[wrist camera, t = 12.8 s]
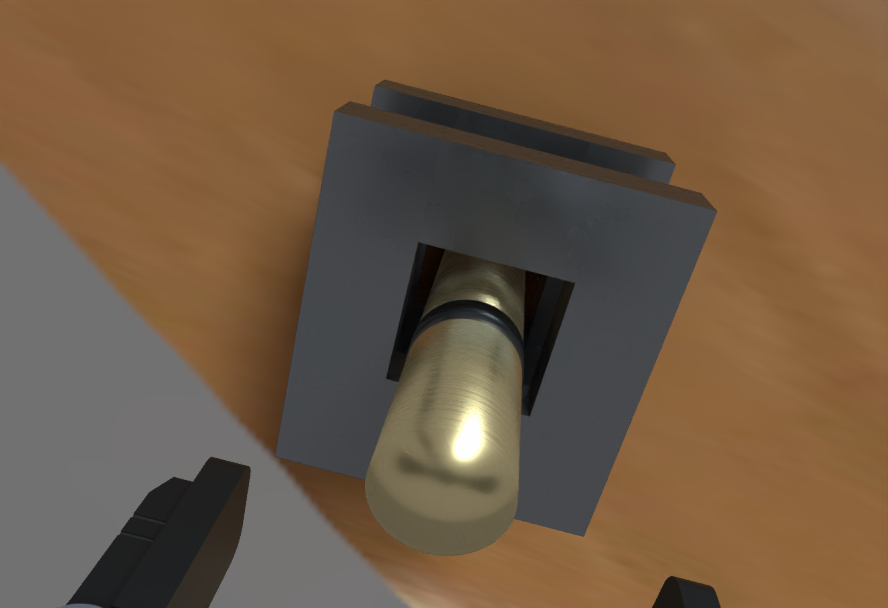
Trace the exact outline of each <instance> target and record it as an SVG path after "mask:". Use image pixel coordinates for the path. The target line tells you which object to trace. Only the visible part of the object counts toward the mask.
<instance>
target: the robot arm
mask: <svg viewBox="0 0 888 608" xmlns="http://www.w3.org/2000/svg"><path fill="white" fill-rule="evenodd" d="M250 471H251V470H250V467H249V466H246V465H241V464H238V463H234V462H230V461H226V460H222V459H218V458H214V457H210V458H209V459H208V460H207V462H206V463H205V465H204V466H203V468H202V469H201V471H200V472H199V474H198V475H197V477H196V478H195V480H194V481H193V482H191V481H187V480H183V479H180V478H176V477H173V478H172V479H170V480H168V481H167V482H165V483H163V484H162V485H160V486H159V487H157V488H155V489H154V490H152V491H151V492H149V493H148V495H147V496H146V497H145V499H144V500H143V502H142V503H141V504H140V506H139V507H138V508H137V510H136V511H135V512H134V515H133V517H131V518H130V519H129V521H128V522H127V523H126V525H125V526H124V528H123V529H122V530H121V533H120V535H118V536H117V537H116V538H115V540H114V541H113V542H112V544H111V545H110V546H109V548H108V549H107V551H106V552H105V553H104V555H103V556H102V557H101V559H100V560H99V561H98V563H97V564H96V565H95V567H94V568H93V570H92V571H91V572H90V574H89V575H88V577H87V578H86V579H85V581H84V582H83V583H82V585H81V586H80V587H79V589H78V590H77V591H76V593H75V594H74V595H73V597H72V598H71V600H69V602H68V603H67V604H66V605H65V606H61V607H58V608H208V607H209V605H210V603H211V601H212V600H213V598H214V595H215V594H216V592H217V590H218V588H219V586H220V584H221V582H222V580H223V578H224V576H225V574H226V571H227V570H228V568H229V566H230V564H231V562H232V559H233V557H234V554H235V551H236V549H237V546H238V543H239V539H240V536H241V531H242V526H243V519H244V512H245V505H246V500H247V493H248V487H249V480H250ZM652 608H721V607H720V604H719V601H718V598H717V595H716V592H715V590H714V588H713V587H711V586H709V585H705V584H701V583H697V582H693V581H690V580H686V579H682V578H678V577H674V576H670V577H669V578H667V580H666V581H665V583H664V585H663V587H662V589H661V591H660V593H659V595H658V597H657V599H656V601H655V603H654V605H653V607H652Z"/></svg>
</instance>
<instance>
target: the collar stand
mask: <svg viewBox="0 0 888 608" xmlns="http://www.w3.org/2000/svg"><path fill="white" fill-rule="evenodd" d="M675 165H676V164H675V163H674V162H673V161H672V160H671V158H670V157H669V156H668V155H667V154H666V153H664V152H660V151H656V150H652V149H649V148H645V147H641V146H637V145H633V144H630V143H626V142H622V141H618V140H614V139H610V138H607V137H603V136H599V135H595V134H591V133H587V132H584V131H580V130H576V129H572V128H568V127H564V126H561V125H557V124H553V123H549V122H545V121H541V120H538V119H534V118H530V117H526V116H522V115H518V114H515V113H511V112H507V111H503V110H499V109H496V108H492V107H488V106H484V105H480V104H476V103H473V102H469V101H465V100H461V99H457V98H453V97H450V96H446V95H442V94H438V93H434V92H430V91H427V90H423V89H419V88H415V87H411V86H407V85H404V84H400V83H396V82H392V81H388V80H383V81H381V82H380V83H378V84H377V85H375V87H374V92H373V97H372V102H371V107H370V106H366V105H362V104H358V103H354V102H351V101H350V102H348V103H347V104H345V105H343V106H342V107H340V108H339V109H337V110H335V111H334V116H333V122H332V127H331V133H330V139H329V145H328V151H327V157H326V162H325V168H324V174H323V180H322V186H321V192H320V197H319V203H318V209H317V215H316V221H315V227H314V232H313V238H312V244H311V250H310V256H309V262H308V267H307V273H306V279H305V285H304V291H303V297H302V302H301V308H300V314H299V320H298V326H297V332H296V337H295V343H294V349H293V355H292V361H291V367H290V372H289V378H288V384H287V390H286V396H285V402H284V407H283V413H282V419H281V425H280V431H279V437H278V442H277V448H276V454H275V457H278V458H282V459H286V460H290V461H294V462H298V463H302V464H305V465H309V466H313V467H317V468H321V469H325V470H328V471H332V472H336V473H340V474H344V475H348V476H352V477H355V478H359V479H363V480H365V479H366V474H367V471H368V468H369V465H370V462H371V459H372V456H373V453H374V451H375V448H376V445H377V442H378V439H379V436H380V433H381V431H382V428H383V425H384V422H385V419H386V416H387V414H388V411H389V408H390V405H391V402H392V399H393V396H394V394H395V391H396V388H397V385H398V382H399V379H400V377H401V374H402V371H403V368H404V365H405V359H406V354H407V351H408V348H409V346H410V343H411V340H412V337H413V334H414V332H415V329H416V327H417V325H418V324H419V322H420V320H421V317H422V314H423V311H424V308H425V305H426V303H427V300H428V297H429V294H430V291H431V290H429V289H425V288H421V287H419V283H420V279H421V275H422V270H423V266H424V262H425V258H426V254H427V250H428V246H429V245H431V246H435V247H439V248H443V249H447V250H451V251H454V252H458V253H462V254H466V255H470V256H474V257H477V258H481V259H485V260H489V261H493V262H497V263H500V264H504V265H508V266H512V267H516V268H520V269H523V270H527V271H531V272H535V273H539V274H541V277H540V280H539V283H538V287H537V290H536V293H535V296H534V299H533V302H532V306H531V309H530V312H529V315H525V314H524V333H523V343H524V352H525V356H524V379H523V384H522V394H521V425H520V455H519V486H518V505H517V510H516V514H515V517H514V519H517V520H521V521H525V522H529V523H533V524H537V525H540V526H544V527H548V528H552V529H556V530H560V531H563V532H567V533H571V534H575V535H579V536H583V537H584V535H585V532H586V530H587V528H588V525H589V523H590V520H591V518H592V515H593V513H594V510H595V508H596V506H597V503H598V501H599V498H600V496H601V493H602V491H603V489H604V486H605V484H606V481H607V479H608V476H609V474H610V471H611V469H612V467H613V464H614V462H615V459H616V457H617V454H618V452H619V450H620V447H621V445H622V442H623V440H624V437H625V435H626V433H627V430H628V428H629V425H630V423H631V420H632V418H633V415H634V413H635V411H636V408H637V406H638V403H639V401H640V398H641V396H642V394H643V391H644V389H645V386H646V384H647V381H648V379H649V376H650V374H651V372H652V369H653V367H654V364H655V362H656V359H657V357H658V355H659V352H660V350H661V347H662V345H663V342H664V340H665V337H666V335H667V333H668V330H669V328H670V325H671V323H672V320H673V318H674V316H675V313H676V311H677V308H678V306H679V303H680V301H681V299H682V296H683V294H684V291H685V289H686V286H687V284H688V281H689V279H690V277H691V274H692V272H693V269H694V267H695V264H696V262H697V260H698V257H699V255H700V252H701V250H702V247H703V245H704V242H705V240H706V238H707V235H708V233H709V230H710V228H711V225H712V223H713V221H714V218H715V216H716V213H717V210H716V209H715V208H714V207H713V206H712V205H711V204H710V202H709V201H708V200H707V199H706V198H705V197H704V196H703V195H702V193H699V192H695V191H691V190H688V189H684V188H680V187H676V186H672V185H669V181H670V178H671V176H672V173H673V170H674V168H675Z"/></svg>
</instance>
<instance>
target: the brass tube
mask: <svg viewBox="0 0 888 608" xmlns="http://www.w3.org/2000/svg"><path fill="white" fill-rule="evenodd" d="M525 271H526V270H523V269H520V268H516V267H512V266H508V265H504V264H500V263H497V262H493V261H489V260H485V259H481V258H477V257H474V256H470V255H466V254H462V253H458V252H454V251H451V250H447V249H445V251H444V254H443V257H442V260H441V263H440V266H439V268H438V271H437V274H436V277H435V280H434V283H433V285H432V288H431V291H430V294H429V297H428V300H427V303H426V305H425V308H424V311H423V314H422V317H421V320H420V322H419V324H418V325H417V327H416V329H415V332H414V334H413V337H412V340H411V343H410V346H409V348H408V351H407V354H406V359H405V365H404V368H403V371H402V374H401V377H400V379H399V382H398V385H397V388H396V391H395V394H394V396H393V399H392V402H391V405H390V408H389V411H388V414H387V416H386V419H385V422H384V425H383V428H382V431H381V433H380V436H379V439H378V442H377V445H376V448H375V451H374V453H373V456H372V459H371V462H370V465H369V468H368V471H367V474H366V479H365V494H366V500H367V503H368V506H369V509H370V511H371V513H372V515H373V516H374V518H375V519H376V521H377V522H378V524H379V525H380V526H381V527H382V528H383V529H384V530H385V531H386V532H387V533H388V534H389V535H390V536H392V537H393V538H394V539H396V540H397V541H399V542H400V543H402V544H404V545H406V546H408V547H410V548H412V549H415V550H418V551H421V552H424V553H429V554H434V555H443V556H453V555H463V554H467V553H472V552H475V551H478V550H480V549H483V548H485V547H487V546H489V545H490V544H492V543H493V542H495V541H496V540H497V539H498V538H500V537H501V536H502V535H503V534H504V533H505V531H506V530H507V529H508V528H509V526H510V525H511V523H512V521H513V519H514V517H515V514H516V510H517V505H518V486H519V455H520V425H521V394H522V384H523V379H524V356H525V352H524V343H523V333H524V302H525Z"/></svg>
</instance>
